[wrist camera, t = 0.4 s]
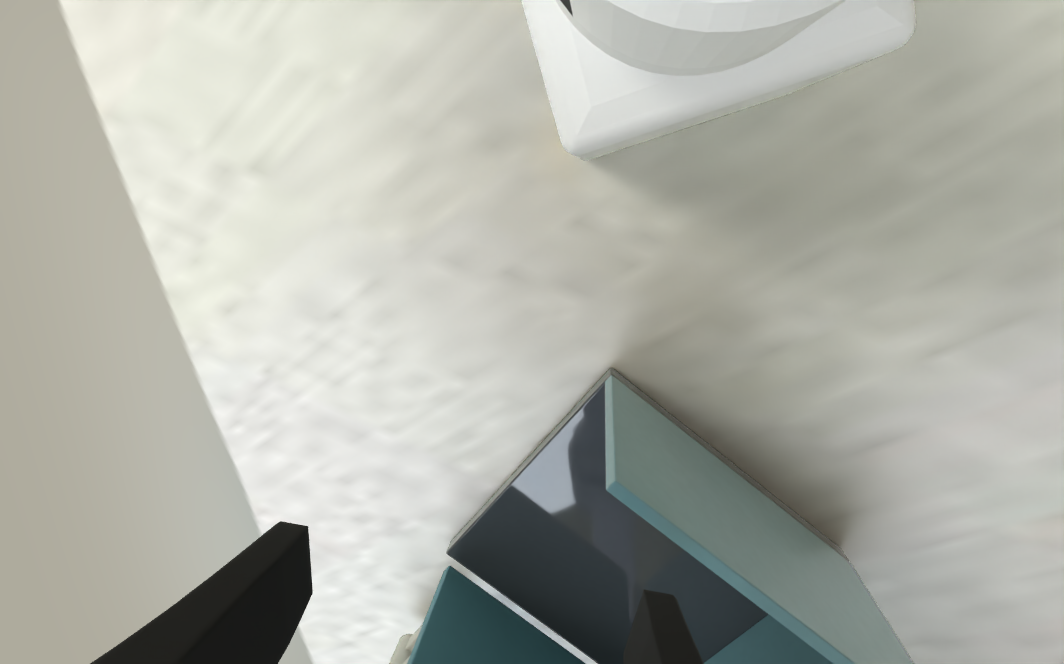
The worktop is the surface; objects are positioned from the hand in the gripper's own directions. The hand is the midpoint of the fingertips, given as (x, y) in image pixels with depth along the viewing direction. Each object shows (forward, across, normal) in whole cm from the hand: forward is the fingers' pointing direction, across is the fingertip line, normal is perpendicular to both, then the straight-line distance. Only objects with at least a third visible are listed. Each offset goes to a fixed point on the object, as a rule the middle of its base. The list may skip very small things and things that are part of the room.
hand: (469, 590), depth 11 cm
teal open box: (+9, -6, +7) cm, 13 cm away
